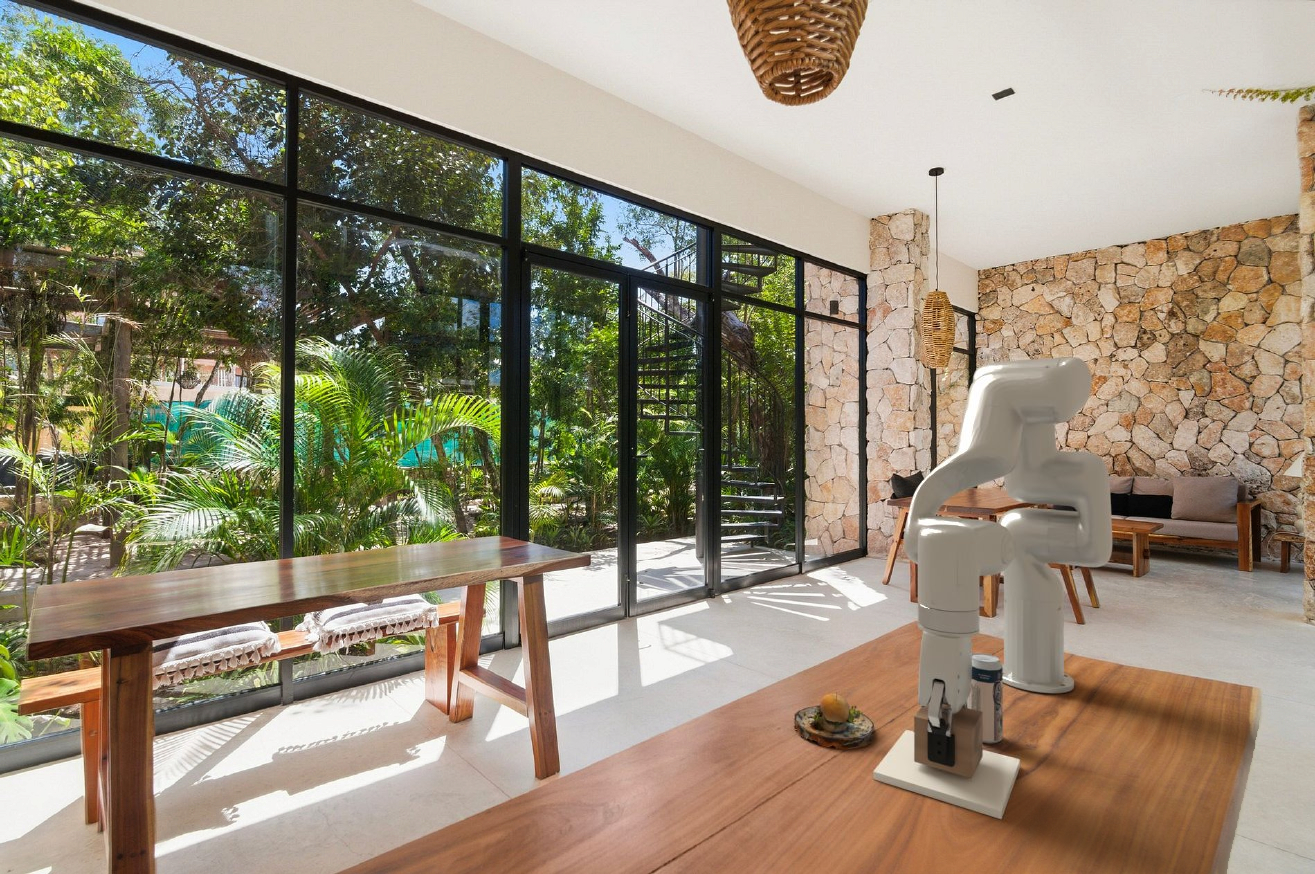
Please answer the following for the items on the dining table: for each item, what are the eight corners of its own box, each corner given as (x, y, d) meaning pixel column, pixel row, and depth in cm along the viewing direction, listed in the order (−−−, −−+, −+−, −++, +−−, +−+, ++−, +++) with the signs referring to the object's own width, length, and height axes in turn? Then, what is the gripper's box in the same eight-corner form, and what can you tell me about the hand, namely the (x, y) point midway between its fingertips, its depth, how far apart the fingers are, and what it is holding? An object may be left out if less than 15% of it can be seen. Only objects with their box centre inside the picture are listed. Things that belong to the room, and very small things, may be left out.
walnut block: (927, 741, 91) (927, 698, 91) (982, 756, 87) (982, 711, 87) (914, 761, 86) (914, 716, 86) (972, 778, 81) (972, 730, 81)
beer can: (1007, 746, 94) (1007, 664, 94) (971, 743, 94) (971, 661, 94) (996, 731, 98) (996, 653, 98) (962, 729, 99) (962, 651, 99)
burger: (878, 724, 102) (879, 676, 102) (869, 757, 91) (869, 704, 91) (802, 710, 107) (802, 665, 107) (785, 740, 96) (785, 690, 96)
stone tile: (906, 736, 97) (906, 729, 97) (1019, 766, 88) (1020, 759, 88) (873, 779, 85) (873, 771, 85) (1001, 819, 76) (1001, 810, 76)
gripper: (934, 600, 96) (934, 721, 96) (900, 629, 82) (900, 769, 82) (991, 608, 91) (991, 734, 91) (964, 640, 77) (964, 789, 77)
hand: (948, 750), depth 86 cm, fingers closed on walnut block, 7 cm apart
